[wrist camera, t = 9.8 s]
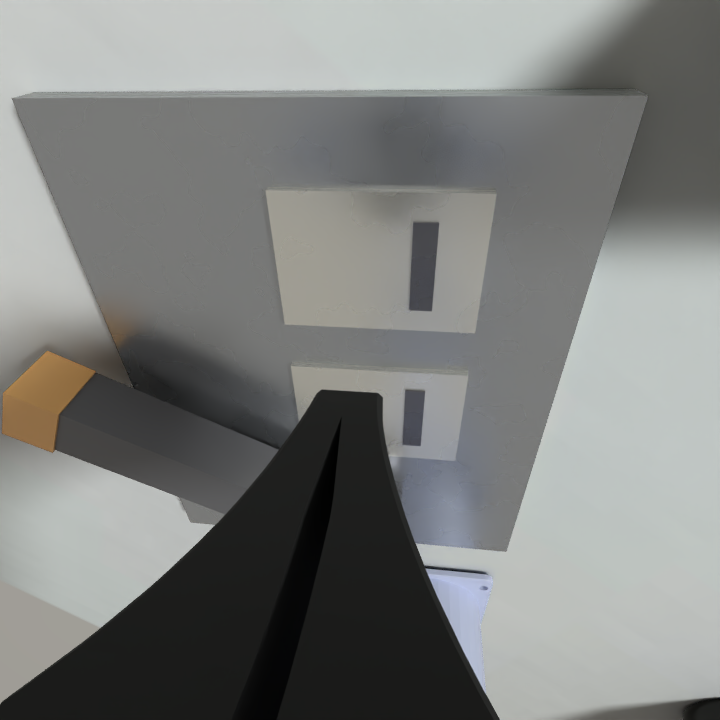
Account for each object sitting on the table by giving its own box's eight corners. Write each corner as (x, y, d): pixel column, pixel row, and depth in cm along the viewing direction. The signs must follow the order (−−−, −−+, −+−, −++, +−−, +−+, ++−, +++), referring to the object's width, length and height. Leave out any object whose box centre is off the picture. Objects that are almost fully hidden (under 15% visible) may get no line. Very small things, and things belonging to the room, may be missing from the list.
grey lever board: (503, 535, 27) (516, 629, 23) (197, 507, 29) (160, 590, 25) (635, 89, 13) (722, 132, 9) (33, 92, 15) (-107, 130, 11)
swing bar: (353, 479, 22) (345, 528, 20) (330, 506, 24) (320, 554, 22) (47, 350, 20) (3, 393, 17) (43, 390, 21) (2, 433, 19)
